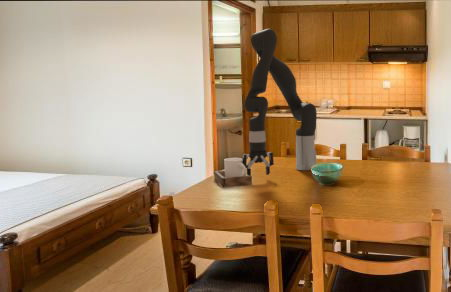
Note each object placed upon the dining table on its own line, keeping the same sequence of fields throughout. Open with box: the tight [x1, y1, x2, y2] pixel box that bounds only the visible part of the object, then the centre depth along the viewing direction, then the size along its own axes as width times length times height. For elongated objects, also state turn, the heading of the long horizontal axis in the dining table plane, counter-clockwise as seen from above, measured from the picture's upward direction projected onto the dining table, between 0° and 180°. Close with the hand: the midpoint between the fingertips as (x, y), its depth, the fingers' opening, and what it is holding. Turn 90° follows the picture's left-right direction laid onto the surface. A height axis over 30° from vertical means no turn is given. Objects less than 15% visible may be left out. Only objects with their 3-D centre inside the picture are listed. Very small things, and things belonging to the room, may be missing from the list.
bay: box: [213, 169, 253, 188], centre depth 230 cm, size 13×17×4 cm
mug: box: [223, 157, 247, 178], centre depth 229 cm, size 12×8×10 cm
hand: (258, 175), depth 232 cm, fingers open, 8 cm apart
